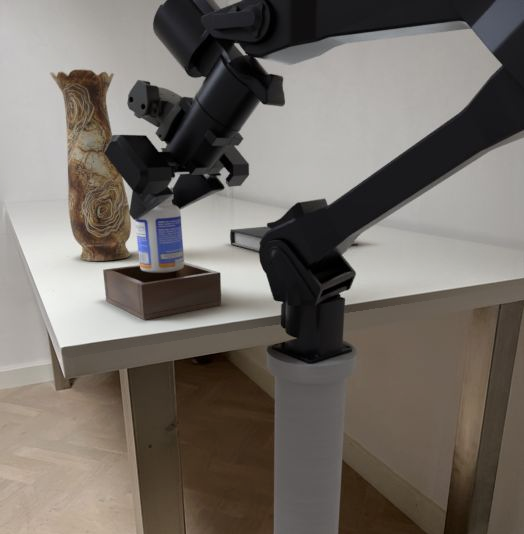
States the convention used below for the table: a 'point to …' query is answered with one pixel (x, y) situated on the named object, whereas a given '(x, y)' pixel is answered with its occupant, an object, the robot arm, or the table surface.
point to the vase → (93, 168)
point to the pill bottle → (160, 239)
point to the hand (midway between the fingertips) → (149, 214)
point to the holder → (162, 290)
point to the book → (250, 237)
